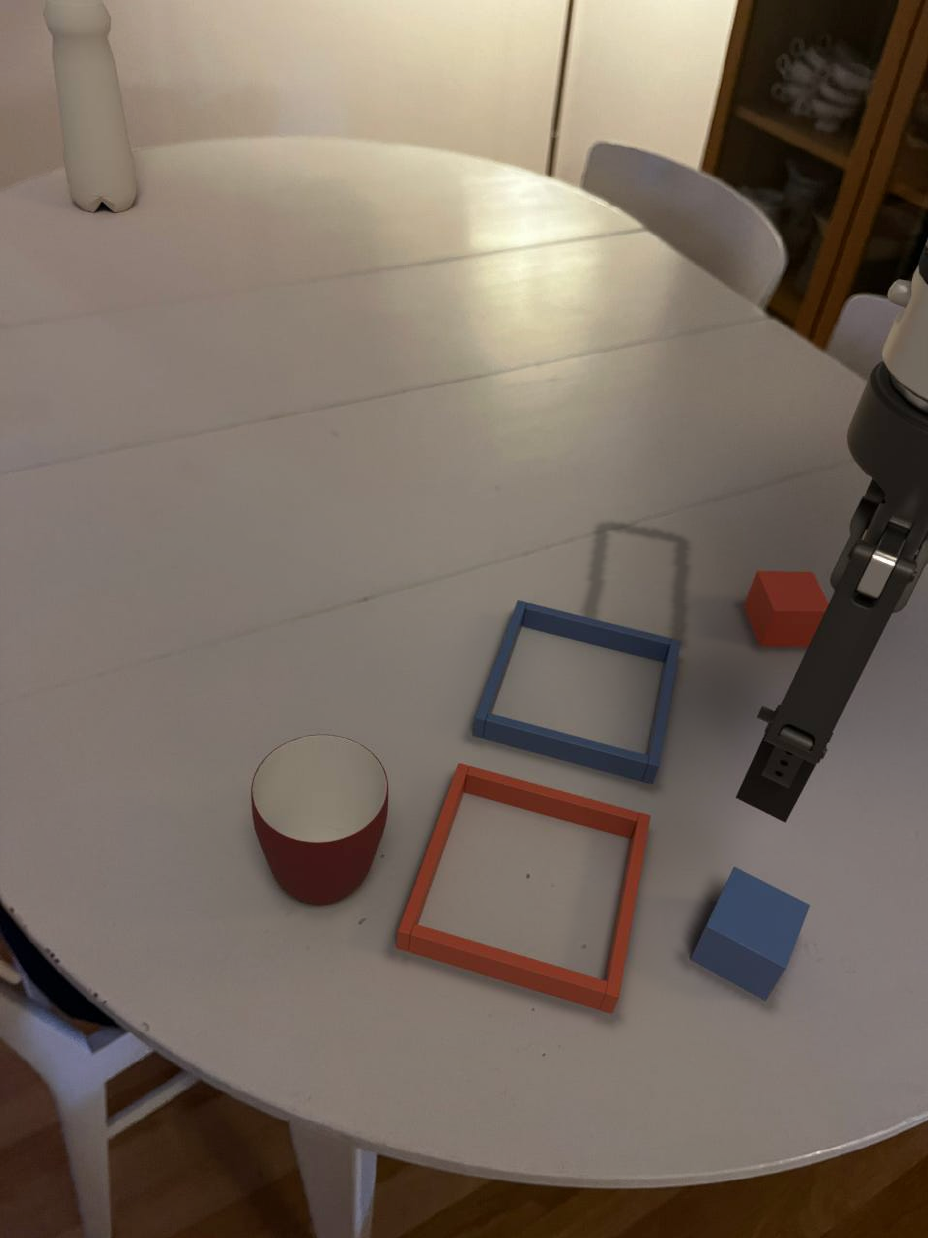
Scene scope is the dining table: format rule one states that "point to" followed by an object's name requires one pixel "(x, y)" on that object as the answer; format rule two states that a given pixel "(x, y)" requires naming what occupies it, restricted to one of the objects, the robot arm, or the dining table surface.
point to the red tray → (504, 962)
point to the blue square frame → (567, 744)
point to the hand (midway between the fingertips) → (801, 723)
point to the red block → (785, 608)
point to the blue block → (751, 933)
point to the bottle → (90, 106)
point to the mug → (320, 815)
